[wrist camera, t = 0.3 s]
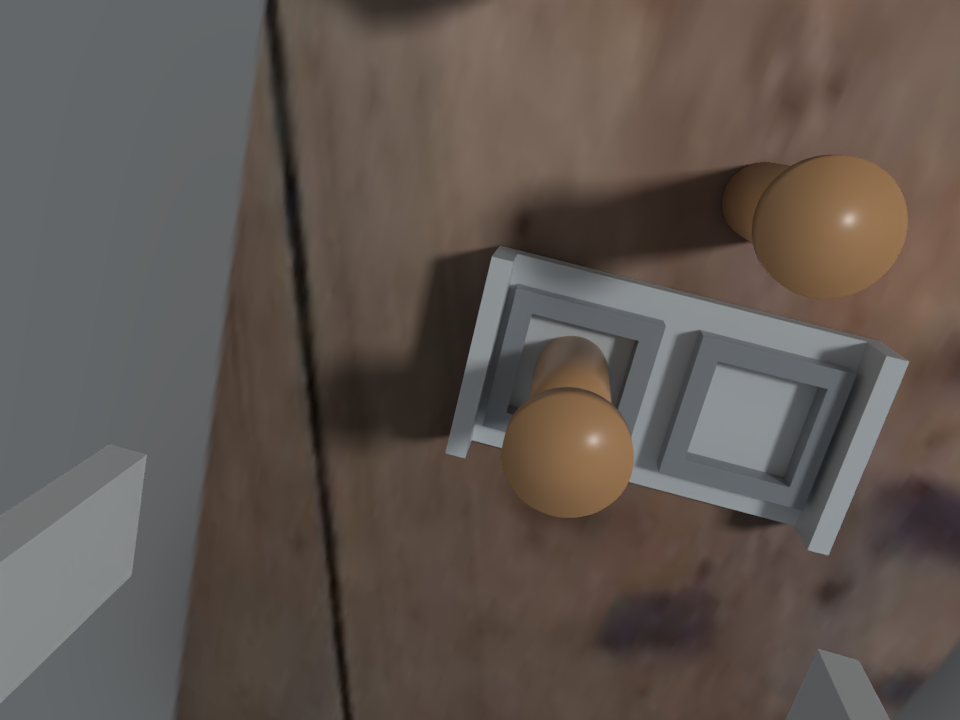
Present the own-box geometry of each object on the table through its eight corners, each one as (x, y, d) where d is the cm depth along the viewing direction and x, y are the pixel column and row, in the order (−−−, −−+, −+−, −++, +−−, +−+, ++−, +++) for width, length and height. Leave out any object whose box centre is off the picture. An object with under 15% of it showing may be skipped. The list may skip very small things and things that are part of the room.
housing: (499, 245, 39) (491, 256, 36) (879, 340, 38) (909, 361, 35) (456, 427, 42) (445, 453, 39) (807, 519, 41) (828, 555, 38)
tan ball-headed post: (727, 137, 36) (785, 140, 26) (830, 162, 36) (931, 175, 26) (695, 238, 38) (738, 280, 27) (794, 263, 37) (875, 314, 27)
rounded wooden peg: (536, 313, 38) (518, 381, 28) (632, 337, 38) (650, 415, 28) (513, 402, 40) (488, 498, 29) (605, 426, 40) (613, 532, 29)
